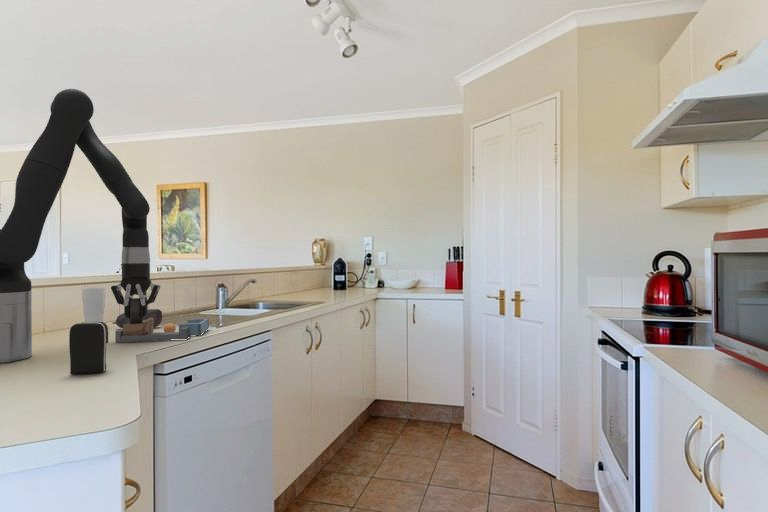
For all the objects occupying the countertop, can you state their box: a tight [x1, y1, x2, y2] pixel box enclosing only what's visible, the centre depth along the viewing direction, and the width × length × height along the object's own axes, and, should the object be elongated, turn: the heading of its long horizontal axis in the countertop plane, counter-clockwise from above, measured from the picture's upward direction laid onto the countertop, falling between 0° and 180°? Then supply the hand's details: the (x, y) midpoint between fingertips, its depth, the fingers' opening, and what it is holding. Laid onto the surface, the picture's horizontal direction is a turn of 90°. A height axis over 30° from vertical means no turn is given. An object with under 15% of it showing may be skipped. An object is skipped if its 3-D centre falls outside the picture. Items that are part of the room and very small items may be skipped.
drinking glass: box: [81, 286, 106, 322], centre depth 151 cm, size 7×7×15 cm
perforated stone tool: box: [115, 308, 163, 329], centre depth 153 cm, size 15×5×7 cm, turn 98°
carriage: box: [122, 297, 154, 335], centre depth 136 cm, size 16×5×13 cm, turn 9°
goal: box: [178, 318, 210, 336], centre depth 143 cm, size 11×7×4 cm, turn 9°
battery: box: [68, 321, 109, 375], centre depth 96 cm, size 7×4×11 cm, turn 102°
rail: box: [114, 327, 191, 344], centre depth 132 cm, size 4×20×4 cm, turn 99°
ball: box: [163, 322, 176, 332], centre depth 142 cm, size 4×4×4 cm
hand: (136, 317), depth 131 cm, fingers closed on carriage, 3 cm apart
